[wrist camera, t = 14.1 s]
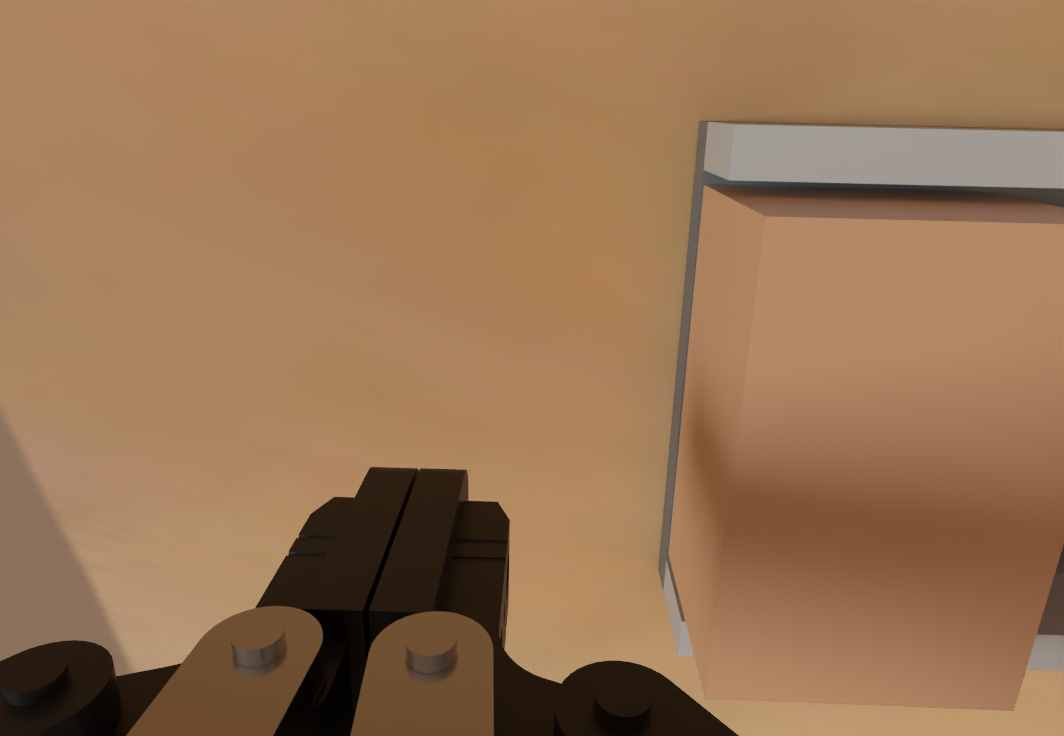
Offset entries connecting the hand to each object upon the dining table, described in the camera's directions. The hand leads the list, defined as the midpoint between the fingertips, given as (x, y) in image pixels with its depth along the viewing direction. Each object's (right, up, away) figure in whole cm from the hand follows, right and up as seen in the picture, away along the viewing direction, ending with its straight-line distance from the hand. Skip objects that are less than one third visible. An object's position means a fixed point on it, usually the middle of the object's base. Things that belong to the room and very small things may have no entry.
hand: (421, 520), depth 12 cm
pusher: (+8, +2, +6) cm, 10 cm away
